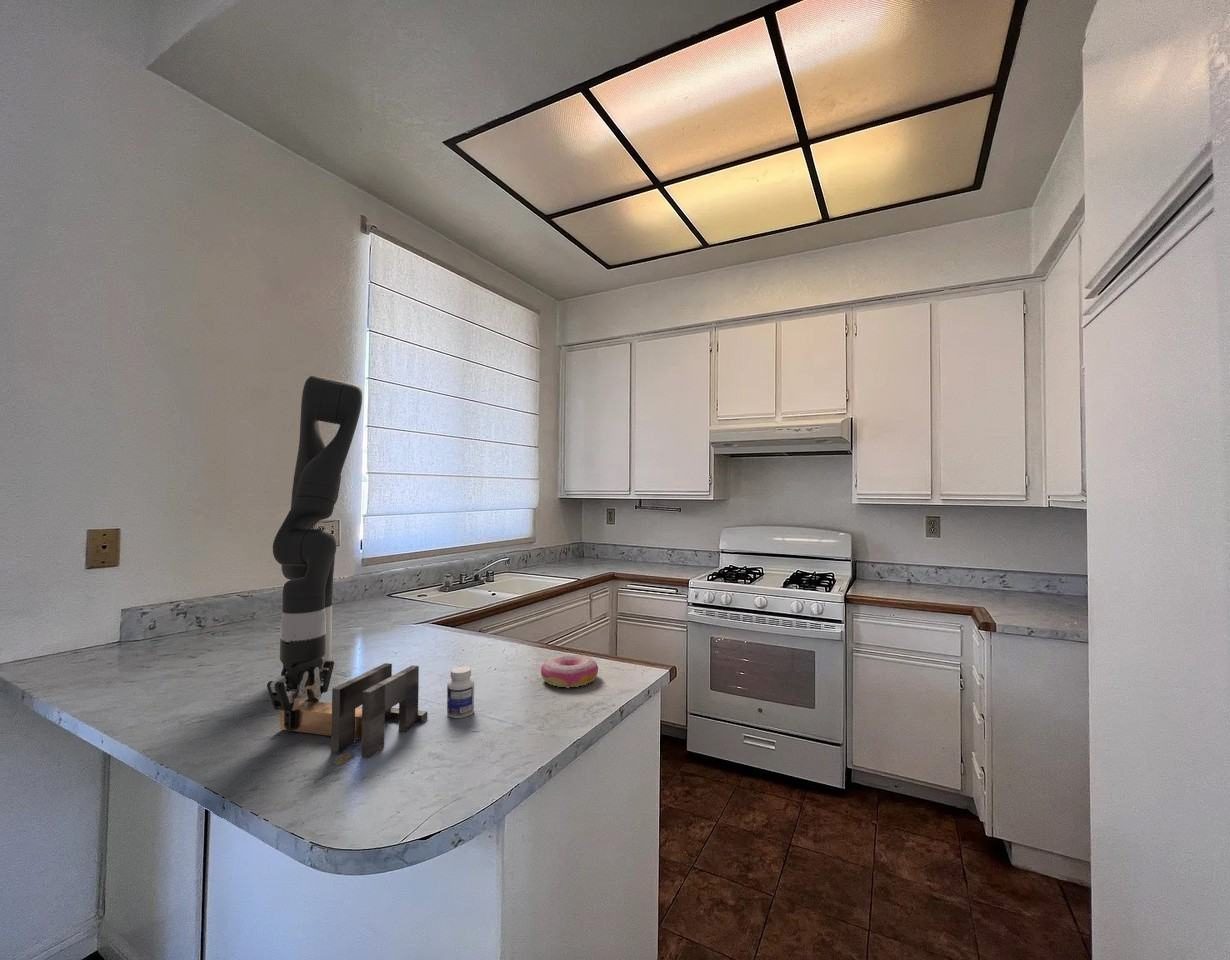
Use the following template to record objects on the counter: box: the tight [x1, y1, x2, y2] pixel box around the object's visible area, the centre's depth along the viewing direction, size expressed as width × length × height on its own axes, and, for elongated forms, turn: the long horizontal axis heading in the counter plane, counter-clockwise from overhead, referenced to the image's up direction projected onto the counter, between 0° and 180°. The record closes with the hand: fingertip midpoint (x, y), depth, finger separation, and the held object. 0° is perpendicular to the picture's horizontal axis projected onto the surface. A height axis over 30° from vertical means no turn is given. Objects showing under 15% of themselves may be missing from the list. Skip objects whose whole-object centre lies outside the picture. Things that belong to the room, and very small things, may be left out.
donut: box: [540, 654, 599, 688], centre depth 125 cm, size 14×13×5 cm
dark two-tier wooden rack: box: [330, 662, 428, 766], centre depth 95 cm, size 9×19×11 cm, turn 167°
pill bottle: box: [446, 666, 475, 719], centre depth 106 cm, size 5×5×9 cm
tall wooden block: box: [279, 699, 362, 741], centre depth 98 cm, size 19×4×4 cm, turn 77°
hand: (301, 723), depth 99 cm, fingers closed on tall wooden block, 4 cm apart
